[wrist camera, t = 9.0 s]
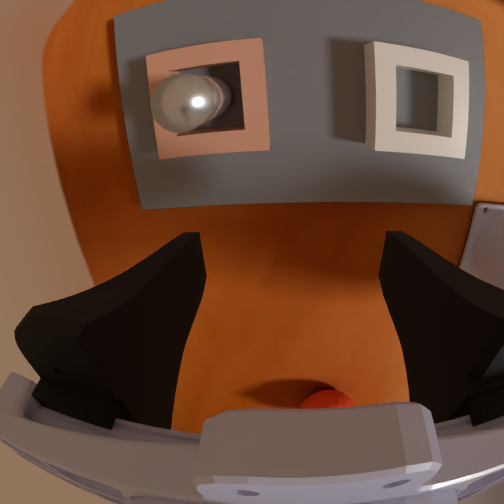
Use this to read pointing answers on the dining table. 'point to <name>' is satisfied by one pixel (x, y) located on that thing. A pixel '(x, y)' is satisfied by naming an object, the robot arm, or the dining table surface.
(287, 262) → the dining table surface
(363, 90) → the board
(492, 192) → the dining table surface
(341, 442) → the robot arm
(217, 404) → the dining table surface
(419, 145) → the pin mount
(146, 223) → the dining table surface
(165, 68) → the socket
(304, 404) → the clementine
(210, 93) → the lock pin
